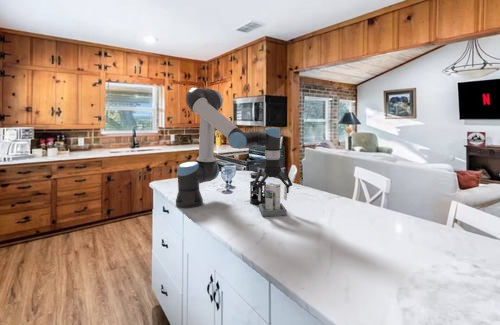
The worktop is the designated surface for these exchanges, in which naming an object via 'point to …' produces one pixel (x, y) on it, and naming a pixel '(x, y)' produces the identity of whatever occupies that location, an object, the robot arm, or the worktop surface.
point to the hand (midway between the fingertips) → (272, 200)
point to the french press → (254, 198)
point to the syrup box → (272, 196)
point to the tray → (272, 211)
